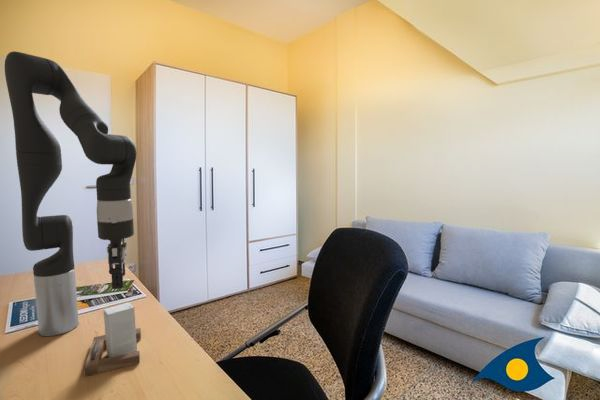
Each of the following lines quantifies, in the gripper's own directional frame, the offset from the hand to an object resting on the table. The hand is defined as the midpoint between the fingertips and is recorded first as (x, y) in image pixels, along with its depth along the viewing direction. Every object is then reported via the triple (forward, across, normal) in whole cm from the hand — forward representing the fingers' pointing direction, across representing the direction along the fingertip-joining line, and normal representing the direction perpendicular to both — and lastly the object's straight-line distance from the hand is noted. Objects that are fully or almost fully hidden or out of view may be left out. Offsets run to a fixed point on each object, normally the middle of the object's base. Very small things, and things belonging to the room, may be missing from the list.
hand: (119, 281), depth 77 cm
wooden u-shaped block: (+19, 0, -2) cm, 19 cm away
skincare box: (+19, 0, 0) cm, 19 cm away
